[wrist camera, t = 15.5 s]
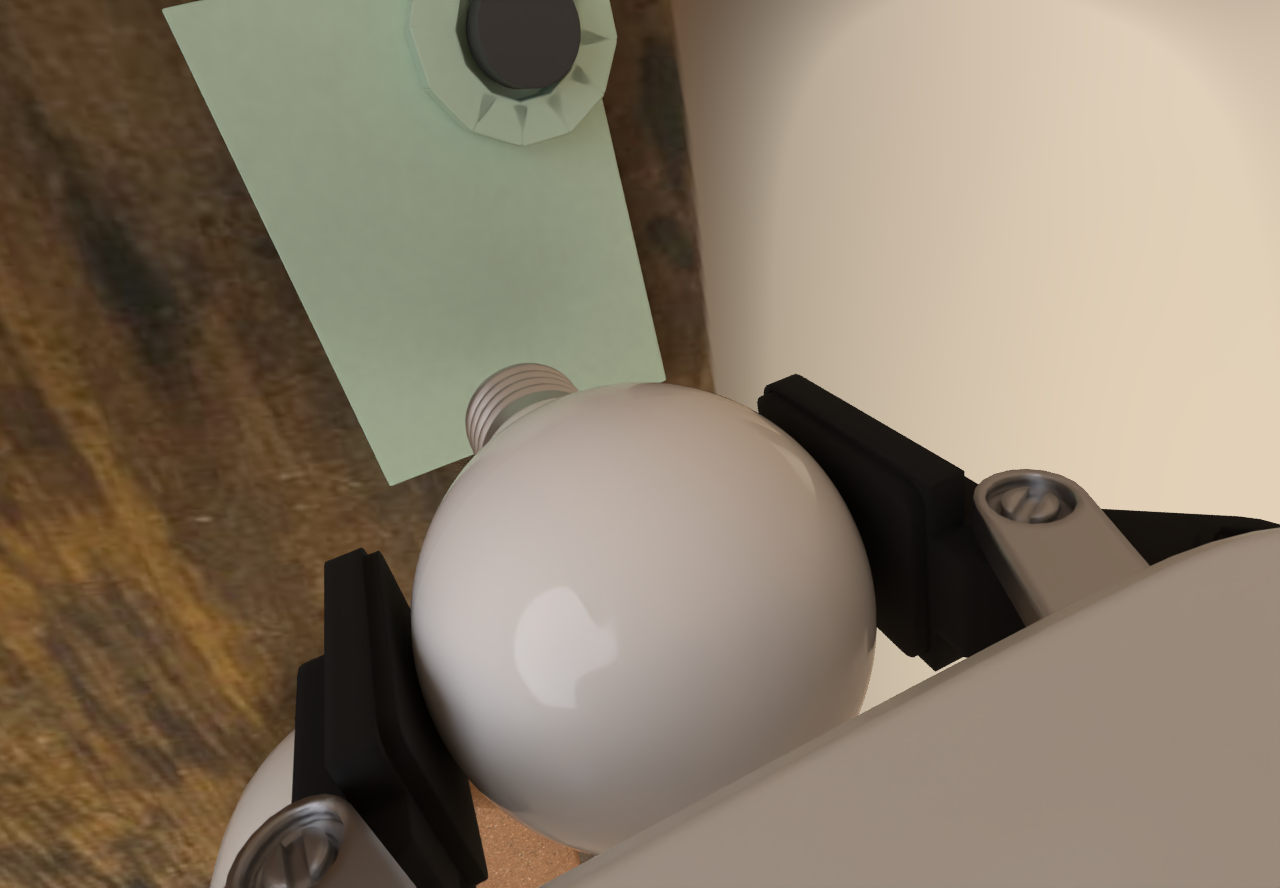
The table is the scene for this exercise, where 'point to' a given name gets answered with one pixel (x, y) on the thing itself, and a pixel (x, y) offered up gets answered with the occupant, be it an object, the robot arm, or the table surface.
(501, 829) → the lidded bowl
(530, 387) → the lightbulb
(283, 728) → the table surface
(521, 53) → the tare button
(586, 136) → the green dial base
